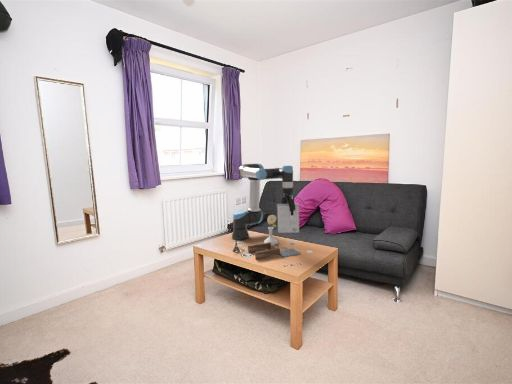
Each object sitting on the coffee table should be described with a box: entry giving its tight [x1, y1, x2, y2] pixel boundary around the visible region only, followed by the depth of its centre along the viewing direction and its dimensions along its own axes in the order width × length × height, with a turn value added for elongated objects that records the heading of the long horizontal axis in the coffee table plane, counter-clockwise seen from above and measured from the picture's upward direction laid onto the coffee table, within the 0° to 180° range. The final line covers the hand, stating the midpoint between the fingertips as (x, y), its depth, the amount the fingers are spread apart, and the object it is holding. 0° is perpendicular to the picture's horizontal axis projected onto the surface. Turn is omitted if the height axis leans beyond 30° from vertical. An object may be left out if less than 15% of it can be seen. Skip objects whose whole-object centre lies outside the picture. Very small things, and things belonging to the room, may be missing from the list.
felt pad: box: [280, 248, 302, 258], centre depth 199 cm, size 12×14×1 cm
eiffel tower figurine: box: [232, 240, 246, 253], centre depth 204 cm, size 15×10×13 cm
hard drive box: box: [276, 202, 300, 234], centre depth 195 cm, size 16×8×20 cm, turn 85°
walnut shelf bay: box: [247, 242, 281, 261], centre depth 198 cm, size 16×18×5 cm
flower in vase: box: [263, 214, 279, 246], centre depth 217 cm, size 13×11×25 cm
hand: (288, 218), depth 195 cm, fingers closed on hard drive box, 10 cm apart
